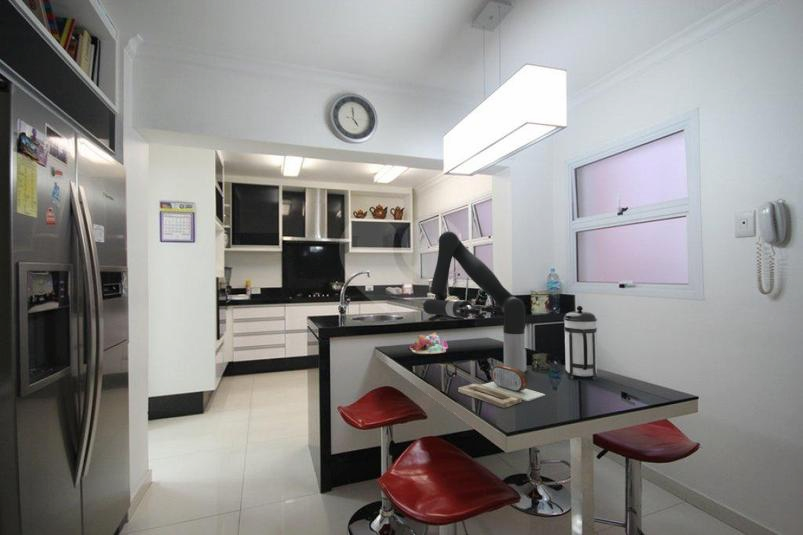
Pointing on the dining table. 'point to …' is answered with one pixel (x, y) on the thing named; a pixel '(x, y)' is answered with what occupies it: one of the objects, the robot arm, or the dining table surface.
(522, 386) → the tin
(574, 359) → the coffee press
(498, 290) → the robot arm
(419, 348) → the candy landscape model
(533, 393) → the mat
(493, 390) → the slot holder
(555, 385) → the dining table surface
